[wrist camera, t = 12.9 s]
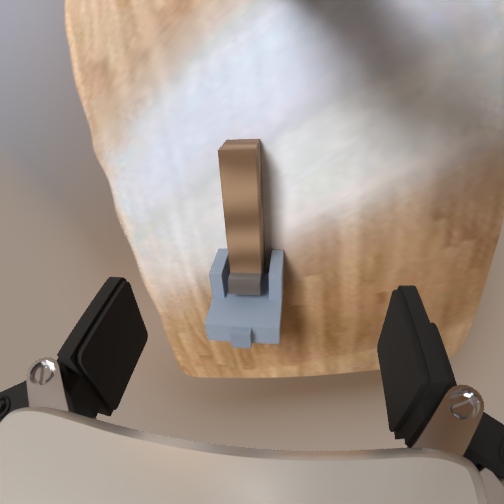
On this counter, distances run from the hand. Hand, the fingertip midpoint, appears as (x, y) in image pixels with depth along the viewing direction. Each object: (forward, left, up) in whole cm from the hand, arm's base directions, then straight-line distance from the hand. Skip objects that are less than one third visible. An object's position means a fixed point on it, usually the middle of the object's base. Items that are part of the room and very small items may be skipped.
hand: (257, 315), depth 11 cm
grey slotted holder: (+19, -5, -30) cm, 36 cm away
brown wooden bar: (+9, -5, -30) cm, 32 cm away
